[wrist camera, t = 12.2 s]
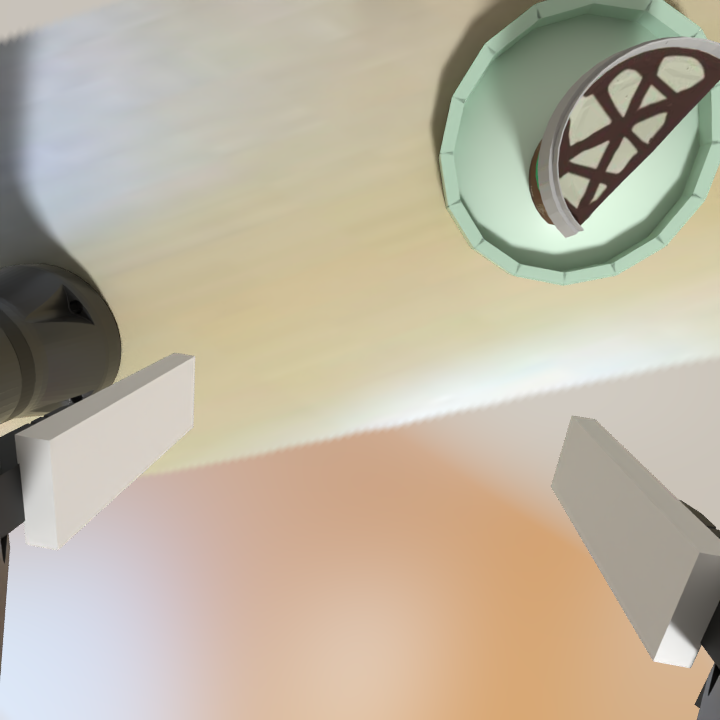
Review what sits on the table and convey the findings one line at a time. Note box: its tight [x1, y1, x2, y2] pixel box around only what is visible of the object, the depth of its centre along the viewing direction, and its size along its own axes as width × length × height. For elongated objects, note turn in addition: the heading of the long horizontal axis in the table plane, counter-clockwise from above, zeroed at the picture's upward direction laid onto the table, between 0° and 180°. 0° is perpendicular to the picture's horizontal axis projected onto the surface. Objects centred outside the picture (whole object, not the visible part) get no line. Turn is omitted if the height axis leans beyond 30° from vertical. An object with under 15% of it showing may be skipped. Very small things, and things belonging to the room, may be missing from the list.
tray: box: [439, 0, 720, 285], centre depth 34 cm, size 20×20×2 cm
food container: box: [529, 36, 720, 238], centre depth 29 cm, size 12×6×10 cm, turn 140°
